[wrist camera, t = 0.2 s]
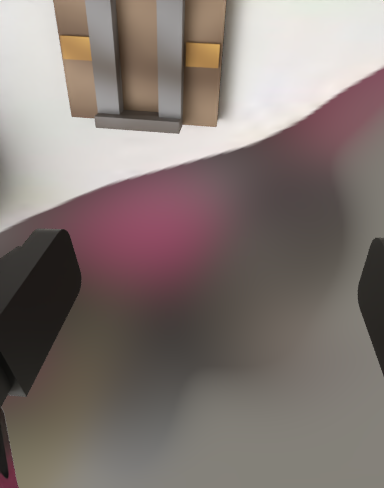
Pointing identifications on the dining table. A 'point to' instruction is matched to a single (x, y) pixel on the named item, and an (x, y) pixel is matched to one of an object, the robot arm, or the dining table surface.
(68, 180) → the dining table surface
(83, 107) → the fader console
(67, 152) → the dining table surface
